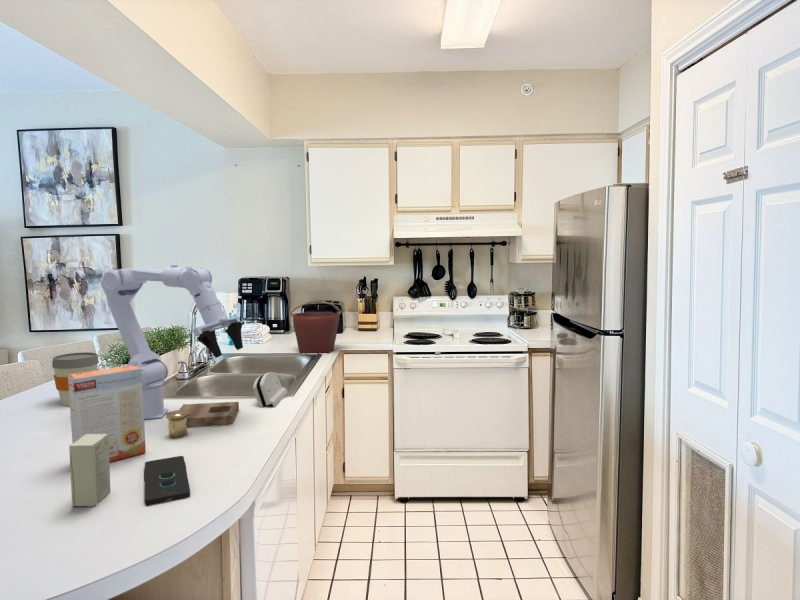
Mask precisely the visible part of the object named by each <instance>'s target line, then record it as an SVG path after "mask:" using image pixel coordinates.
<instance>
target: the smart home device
mask: <svg viewBox="0 0 800 600" xmlns="http://www.w3.org/2000/svg"><path fill="white" fill-rule="evenodd" d="M187 471H188V470H187V464H186V461H185V457H184V456H183V455H179V456H172V457H166V458H159V459H152V460H149V461H145V462H144V469H143V481H144V505H145V506H147V507H149V506H154V505H159V504H164V503H167V502H175V501H178V500H179V501H180V500H183V499H188V498H190V496H191V487H190V483H189V482H190V481H189V478H188V477H189V476H188V472H187Z"/></svg>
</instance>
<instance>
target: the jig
mask: <svg viewBox="0 0 800 600" xmlns="http://www.w3.org/2000/svg"><path fill="white" fill-rule="evenodd" d="M239 402H240V401H227V402H208V403H207V402H205V403H204V402H203V403H202V402H201V403H187V404H186V403H183V404H182V405H181V407H180V408H179V409H178V410H187V411H188V412H189V416H187V428H194V427H195V428H197V427H198V426H201V427H211V426H212V427H214V426H213V425H218V426H232V425H231V424H233V425H234V423H233V422H235V420H236V418H235V417H237V415H238V412H239V410H240V408H239V407H240V405H239V404H240V403H239ZM229 424H230V425H229Z"/></svg>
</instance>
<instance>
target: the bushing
mask: <svg viewBox="0 0 800 600" xmlns="http://www.w3.org/2000/svg"><path fill="white" fill-rule="evenodd" d="M165 414H166V416H165V417H166V419H167V420H168V437H169V438H170V439H181V437H182V438H184V436H185V437H186V436H188V427H187V416H189V412H188V411H187V410H179V409H178V410H176V409H175V410H172V411H169V412H168V411H167V412H166V413H165Z"/></svg>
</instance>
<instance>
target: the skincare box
mask: <svg viewBox="0 0 800 600" xmlns="http://www.w3.org/2000/svg"><path fill="white" fill-rule="evenodd" d="M68 447H69V469H70V485H71V486H70V489H71V490H70V491H71V506H88V507H95V506H94V505H96V504H97V503H98V504H99V503H100V502H102V501H103V500H104V498H106V497H107V496H108V494H110V492H111V491H112V490H111V472H110V467H111V465H110V462H109V443H108V434H85V435H84V436H82V437H81V438H79V439H78V440H77V441H75V442H74V443H71V444H69V446H68ZM98 504H97V505H98ZM97 505H96V506H97Z"/></svg>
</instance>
